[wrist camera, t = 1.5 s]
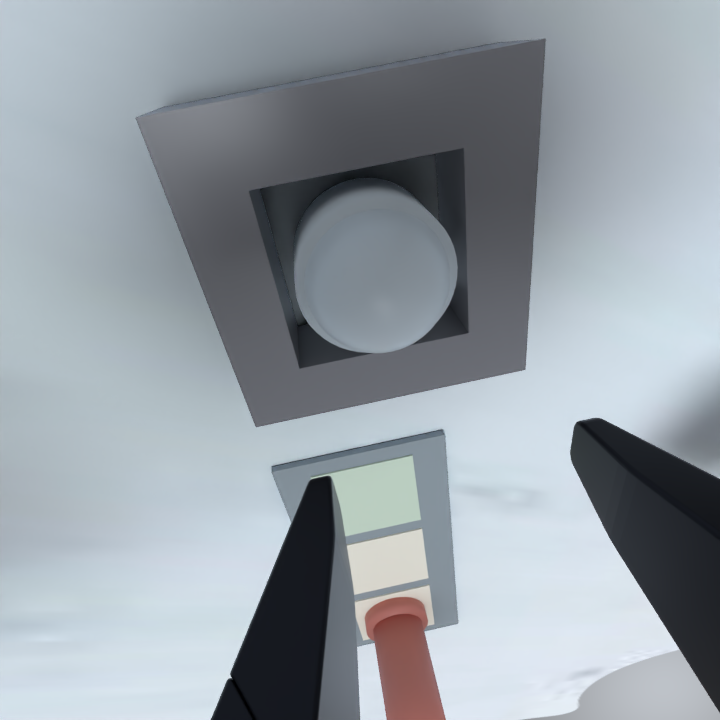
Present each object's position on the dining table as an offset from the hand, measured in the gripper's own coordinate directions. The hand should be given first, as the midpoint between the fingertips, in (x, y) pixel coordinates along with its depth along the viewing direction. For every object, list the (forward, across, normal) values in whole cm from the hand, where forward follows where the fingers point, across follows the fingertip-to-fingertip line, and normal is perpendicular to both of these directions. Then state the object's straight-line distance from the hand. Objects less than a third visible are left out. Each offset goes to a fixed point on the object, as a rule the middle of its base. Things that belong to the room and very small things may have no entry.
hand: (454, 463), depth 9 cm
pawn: (+12, +2, +30) cm, 33 cm away
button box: (+13, 0, 0) cm, 13 cm away
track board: (+13, +2, +23) cm, 26 cm away
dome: (+11, 0, 0) cm, 11 cm away
